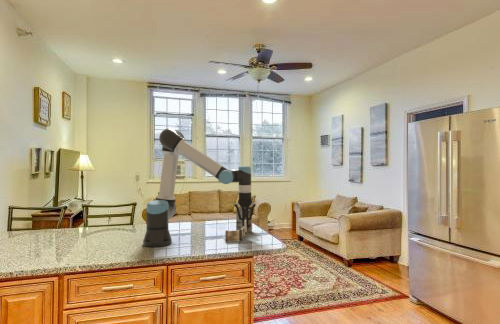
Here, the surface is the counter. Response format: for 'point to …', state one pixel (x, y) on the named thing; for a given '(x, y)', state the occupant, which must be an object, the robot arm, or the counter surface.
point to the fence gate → (243, 232)
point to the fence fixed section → (233, 235)
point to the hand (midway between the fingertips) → (245, 231)
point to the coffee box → (239, 222)
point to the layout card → (244, 239)
